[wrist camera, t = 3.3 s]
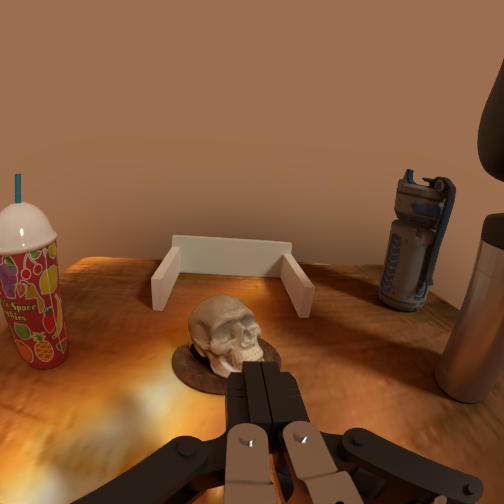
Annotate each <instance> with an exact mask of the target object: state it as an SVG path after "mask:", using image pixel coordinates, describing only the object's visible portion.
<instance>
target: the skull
mask: <svg viewBox="0 0 504 504" xmlns="http://www.w3.org/2000/svg"><path fill="white" fill-rule="evenodd" d="M254 319H255V317H254V313H253V312H252V311H251V310H250V309H248V308H247V307H246V305H245V304H244V303H243V302H242V301H241V300H240V299H238V298H236V297H233V296H230V295H218V296H214V297H211V298H209V299H207V300H205V301H203V302H202V303H200V304H199V305H198V306H197V307H196V308H195V309H194V311H193V312H192V314H191V316H190V318H189V321H188V330H189V332H190V335H191V339H192V342H193V344H192V345H190V348H191V349H189V345H188V343H189V342H188V343H187V345H186V346H185V345H183V346H180V347H178V348H177V349H176V350H175V352H174V354H173V358H172V365H173V368H174V370H175V372H176V374H177V375H178V376H179V377H180V378H181V379H182V380H183V381H185V382H186V383H188V384H189V385H191V386H193V387H195V388H197V389H200V390H202V391H206V392H209V393H216V394H218V393H219V394H220V395H222V394H226V379H227V378H228V376H229V374H230V373H231V372H241V371H242V362H243V361H277V362H278V365H279V369H280V367H281V359H280V356H279V353H278V352H277V351H276V349H275V348H274V347H273V346H271V345H270V344H269V343H268V342H265V340H263V339H261V338H260V337H261V335H262V332H261V328H260V327H259V325H258V324H257V323H256V322H255V320H254Z"/></svg>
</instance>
